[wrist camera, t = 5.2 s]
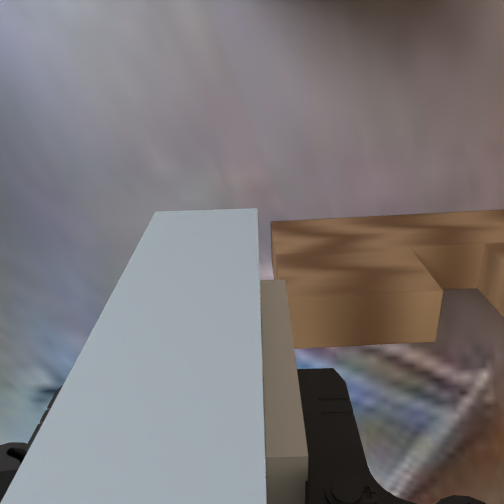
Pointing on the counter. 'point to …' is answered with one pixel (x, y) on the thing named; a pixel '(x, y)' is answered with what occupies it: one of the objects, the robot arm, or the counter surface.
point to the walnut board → (384, 273)
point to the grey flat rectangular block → (164, 379)
